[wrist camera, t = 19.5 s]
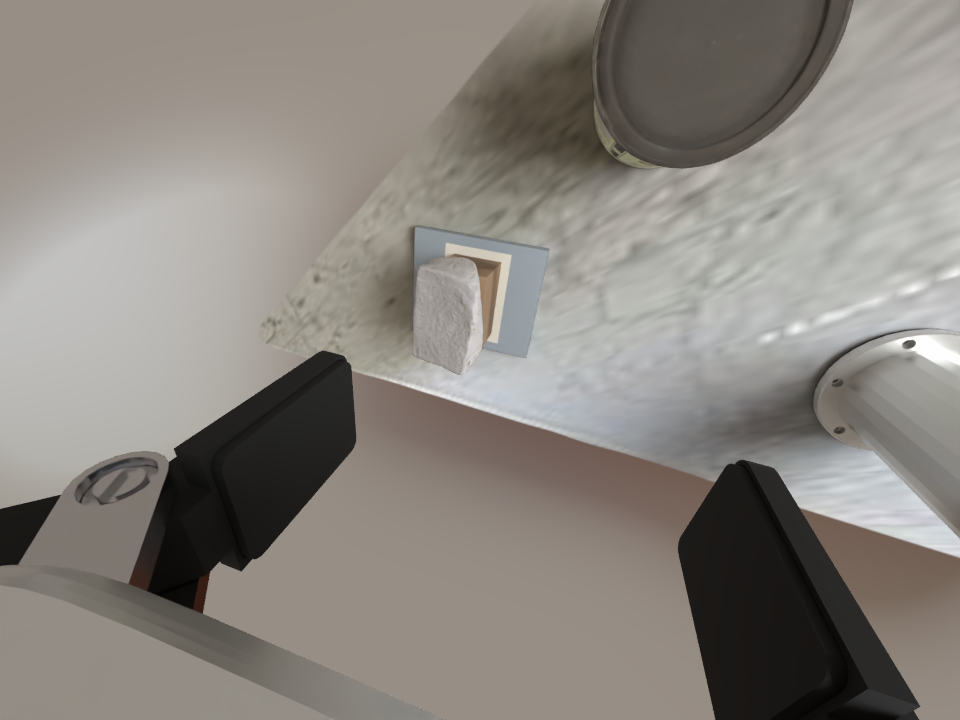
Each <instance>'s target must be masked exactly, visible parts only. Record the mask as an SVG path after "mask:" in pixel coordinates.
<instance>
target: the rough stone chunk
mask: <svg viewBox="0 0 960 720" xmlns="http://www.w3.org/2000/svg"><path fill="white" fill-rule="evenodd" d="M480 295H481V292H480V281H479V276H478V272H477V268H476V265H475V263H474V262H473V261H471V260H469V259H467V258H457V257H454V258H452V257H443V258H437V259H433V260H431V261H430V262H429V263H428V264H423V265H421V266H420V267H419V269H418V274H417V280H416V290H415V299H416V302H415V309H414V317H413V327H414V330H413V335H414V337H413V356H415V357H417V358H420V359H422V360H425V361H427V362H429V363H433V364H436V365H439V366H442V367H444V368H445V369H447V370H449V371H451V372H453V373H455V374H457V375H462V374H463V373H464V372H466V371H467V370H468V369H469V367H470V366H471V365H472V363H473V361H474V360H475V359H476V357H477V356H478V354H479V353H480V351H481V349H482V343H483V321H482V305H481V297H480Z"/></svg>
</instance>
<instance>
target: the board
mask: <svg viewBox="0 0 960 720" xmlns="http://www.w3.org/2000/svg"><path fill="white" fill-rule="evenodd" d="M549 250H550V249H548V248H542V247H537V246H531V245H525V244H520V243H514V242H509V241H503V240H498V239H492V238H487V237H481V236H475V235H470V234H464V233H459V232H453V231H448V230H442V229H437V228H431V227H425V226H417V227H415V245H414V282H413V317H414V309H415V302H416V299H415V290H416V280H417V274H418V269H419V267H420V266H421V265H423V264H428V263H429V262H430V261H431V260H433V259H437V258H443V257H451V256H452V255H454V254H460V255H465V256H470V257H476V258H481V259H486V260H492V261H497V262H502V263H501V270H500V277H499V284H498V291H497V298H496V305H495V311H494V318H493V325H492V332H491V334H490V336H489V338H488V339H487V341H486V343H485V344H484V346H483V347H482V348H486V349H490V350H494V351H498V352H502V353H507V354H511V355H515V356H519V357H523V358H526V356H527V354H528V349H529V344H530V339H531V335H532V330H533V325H534V321H535V316H536V311H537V306H538V302H539V297H540V292H541V287H542V283H543V278H544V273H545V269H546V264H547V259H548V254H549ZM413 330H414V327H413V319H412V331H413Z"/></svg>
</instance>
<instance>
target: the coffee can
mask: <svg viewBox="0 0 960 720" xmlns="http://www.w3.org/2000/svg"><path fill="white" fill-rule="evenodd" d="M852 5H853V0H605V3H604V5H603V8H602V10H601V14H600V17H599V21H598V25H597V29H596V33H595V38H594V44H593V51H592V86H593V93H594V98H595V99H594V119H595V125H596V130H597V133H598V135H599V137H600V140H601V142H602V144H603V145H604V147H605V148H606V150H607V151H608V152H609V153H610V154H611V155H612V156H613V157H614V158H616V159H617V160H618V161H620V162H622V163H624V164H625V165H629V166H632V167H636V168H643V169H651V168H659V167H669V168H692V167H699V166H705V165H709V164H713V163H716V162H719V161H722V160H724V159H727V158H729V157H731V156H734V155H736V154H738V153H740V152H742V151H744V150H746V149H747V148H749V147H751V146H752V145H754V144H756V143H757V142H759V141H760V140H762V139H763V138H765V137H766V136H767V135H769V134H770V133H771V132H773V131H774V130H775V129H776V128H778V127H779V126H780V125H781V124H782V123H783V122H784V121H785V120H786V119H787V118H788V117H789V116H790V115H791V114H792V113H794V112H795V110H796V109H797V108H798V107H799V106H800V105H801V104H802V102H803V101H804V100H805V99H806V98H807V97H808V95H809V94H810V92H811V91H812V90H813V88H814V87H815V86H816V84H817V83H818V81H819V80H820V78H821V77H822V75H823V74H824V72H825V70H826V69H827V67H828V65H829V64H830V62H831V60H832V58H833V57H834V55H835V52H836V50H837V48H838V46H839V44H840V42H841V39H842V37H843V35H844V32H845V29H846V26H847V23H848V20H849V17H850V13H851V9H852Z"/></svg>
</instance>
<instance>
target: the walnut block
mask: <svg viewBox="0 0 960 720" xmlns="http://www.w3.org/2000/svg"><path fill="white" fill-rule="evenodd" d="M451 257H452V258H454V257H457V258H467V259H469V260H471V261H473V262H474V263H475V265H476V268H477V272H478V276H479V281H480V292H481V295H480V297H481V305H482V321H483V343H482V347H483V346H484V344H485V343H486V341H487V339H488V338H489V336H490V334H491V332H492V325H493V318H494V311H495V305H496V298H497V291H498V284H499V277H500V270H501V263H502V262H497V261H492V260H486V259H481V258H476V257H470V256H465V255H460V254H454V255H452V256H451Z"/></svg>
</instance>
